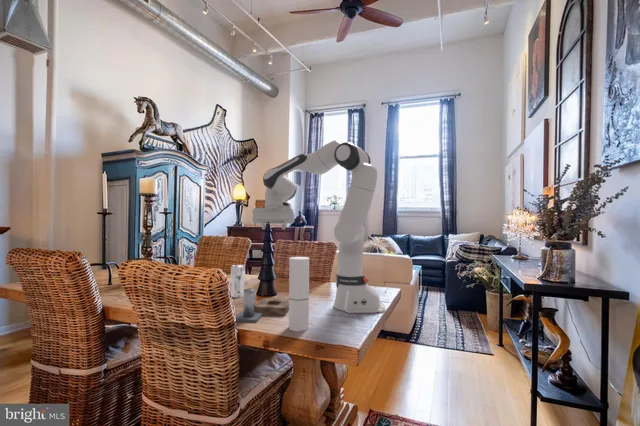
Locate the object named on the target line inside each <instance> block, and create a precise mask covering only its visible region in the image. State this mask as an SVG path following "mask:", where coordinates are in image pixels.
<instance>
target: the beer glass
mask: <svg viewBox="0 0 640 426" xmlns="http://www.w3.org/2000/svg"><path fill="white" fill-rule="evenodd" d="M245 279H246V266H245V265H244V264H233V265H231V266H230V282H231V288H232V289H231V295H232V297H231V298H234V299H239V298H240V299H241V298H244V285H245V281H246V280H245Z"/></svg>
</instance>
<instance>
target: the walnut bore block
mask: <svg viewBox="0 0 640 426" xmlns="http://www.w3.org/2000/svg"><path fill="white" fill-rule="evenodd" d="M255 312H263V316H264V315H266V316H269V315H270V316H287V314H289V298H272V297H271V298H265V297H263V298H262V299H260V301H258V302H257V304H255Z"/></svg>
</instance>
